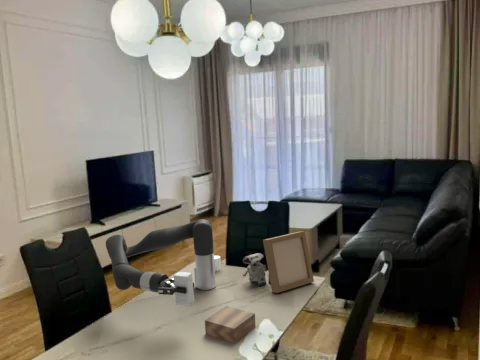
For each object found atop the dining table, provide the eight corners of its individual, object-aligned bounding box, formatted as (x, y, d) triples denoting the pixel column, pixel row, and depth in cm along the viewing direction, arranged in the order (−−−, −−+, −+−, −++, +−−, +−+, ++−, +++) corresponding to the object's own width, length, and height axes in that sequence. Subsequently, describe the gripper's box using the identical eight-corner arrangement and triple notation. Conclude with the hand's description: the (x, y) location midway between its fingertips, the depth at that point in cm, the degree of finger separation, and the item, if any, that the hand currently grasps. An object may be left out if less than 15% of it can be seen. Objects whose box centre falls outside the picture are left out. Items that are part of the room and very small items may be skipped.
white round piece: (208, 267, 242) (207, 255, 241) (221, 266, 243) (220, 254, 241) (208, 272, 235) (208, 259, 234) (221, 271, 236) (220, 258, 235)
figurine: (239, 283, 217) (238, 254, 215) (259, 278, 223) (258, 250, 220) (249, 289, 209) (247, 259, 207) (269, 284, 215) (268, 254, 212)
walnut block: (205, 334, 170) (204, 320, 169) (226, 319, 181) (226, 306, 180) (235, 343, 162) (234, 328, 161) (255, 327, 173) (254, 313, 172)
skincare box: (194, 301, 170) (192, 272, 168) (189, 306, 166) (187, 276, 164) (180, 300, 172) (178, 271, 170) (175, 305, 168) (173, 275, 166)
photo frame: (314, 283, 213) (312, 233, 209) (277, 295, 202) (274, 242, 198) (295, 275, 225) (293, 227, 222) (259, 285, 214) (256, 235, 211)
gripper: (165, 284, 182) (200, 290, 174) (143, 298, 169) (180, 305, 161) (164, 267, 181) (199, 272, 173) (141, 279, 168) (178, 285, 160)
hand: (189, 288), depth 167 cm, fingers closed on skincare box, 4 cm apart
